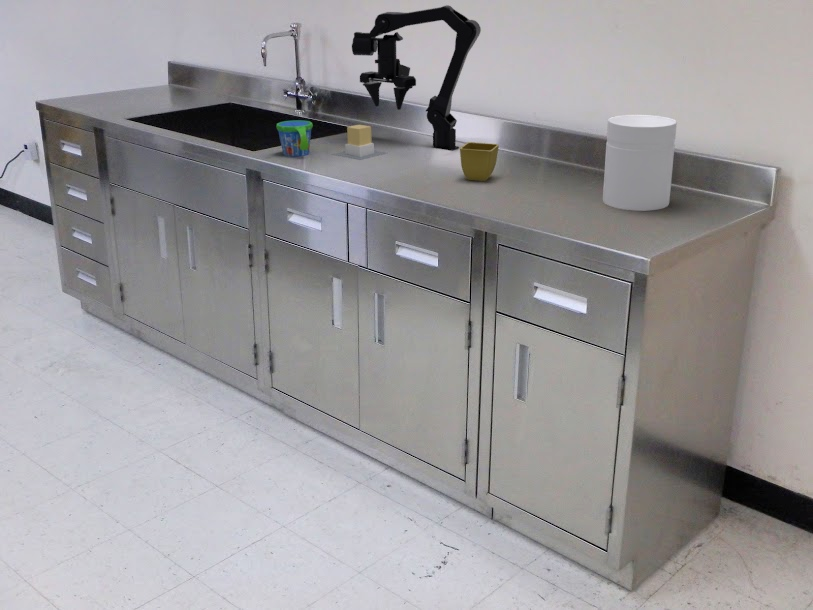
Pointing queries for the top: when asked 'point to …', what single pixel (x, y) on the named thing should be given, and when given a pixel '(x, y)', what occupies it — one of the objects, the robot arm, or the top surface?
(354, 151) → the white brick
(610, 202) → the canister
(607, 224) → the top surface
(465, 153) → the flower pot
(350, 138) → the ochre brick
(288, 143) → the snack cup
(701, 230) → the top surface
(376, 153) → the baseplate
